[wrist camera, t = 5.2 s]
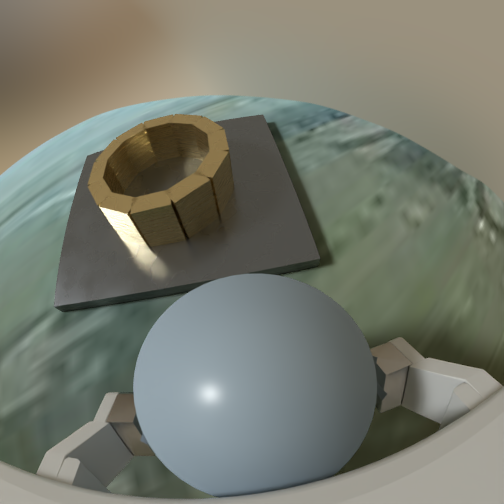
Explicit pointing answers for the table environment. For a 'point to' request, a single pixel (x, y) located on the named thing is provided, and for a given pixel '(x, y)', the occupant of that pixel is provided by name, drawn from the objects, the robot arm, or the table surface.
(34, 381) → the table surface
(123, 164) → the brass socket
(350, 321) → the grey capsule peg
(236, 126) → the mounting plate
